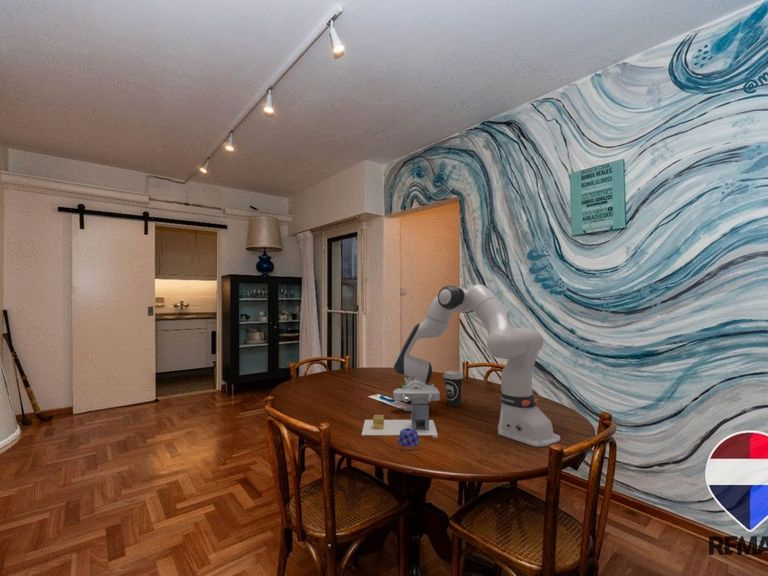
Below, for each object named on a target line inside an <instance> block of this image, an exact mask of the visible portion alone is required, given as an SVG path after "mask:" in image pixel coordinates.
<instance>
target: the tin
mask: <svg viewBox="0 0 768 576" xmlns="http://www.w3.org/2000/svg"><path fill="white" fill-rule="evenodd" d="M410 407H411V410H410V413H411V414H410V415H411V417H410V420H411V424H412V429H415V430H416V424H425V430H429V420H430V402H428V399H411V402H410Z"/></svg>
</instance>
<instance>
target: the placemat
mask: <svg viewBox="0 0 768 576" xmlns="http://www.w3.org/2000/svg"><path fill="white" fill-rule="evenodd" d="M405 428H411V429H412V424H411V419H384V429H373V419H365V420H364V423H363V427H362V432H361V436H399V435H400V431H401V430H402V429H405ZM416 431H417V433H418V436H432V438H433V439H437V438H439V436H438V432H437V428H436V424H435V422H434V419H429V430H425V424H416Z"/></svg>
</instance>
